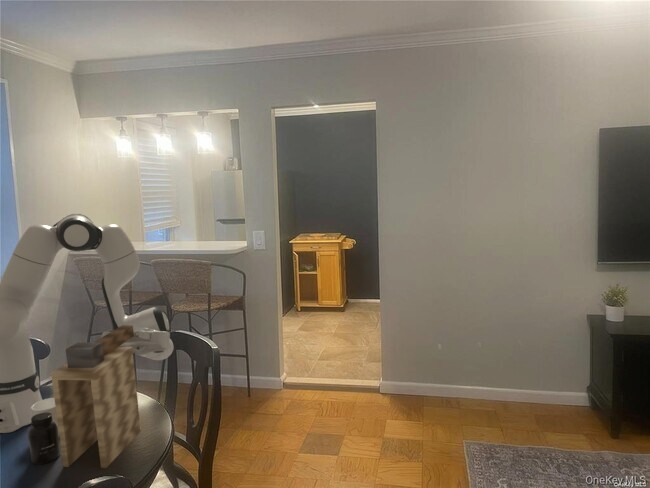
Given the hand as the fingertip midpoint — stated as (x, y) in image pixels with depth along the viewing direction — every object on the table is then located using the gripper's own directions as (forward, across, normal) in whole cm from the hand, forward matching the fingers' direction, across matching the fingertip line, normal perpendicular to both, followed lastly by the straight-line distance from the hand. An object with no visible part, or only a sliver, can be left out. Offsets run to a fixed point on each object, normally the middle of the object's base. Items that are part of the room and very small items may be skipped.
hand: (122, 333), depth 142 cm
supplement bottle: (+4, -13, +35) cm, 37 cm away
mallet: (+7, 0, +6) cm, 9 cm away
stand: (-1, 0, +32) cm, 32 cm away
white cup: (-6, -20, +29) cm, 36 cm away
